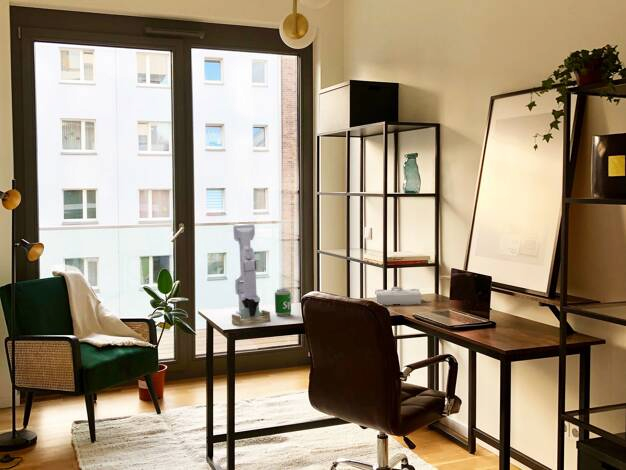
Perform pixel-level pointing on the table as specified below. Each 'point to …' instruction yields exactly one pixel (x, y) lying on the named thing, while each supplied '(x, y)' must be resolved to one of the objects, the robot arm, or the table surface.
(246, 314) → the door panel
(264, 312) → the track sill
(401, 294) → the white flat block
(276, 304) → the soda can
